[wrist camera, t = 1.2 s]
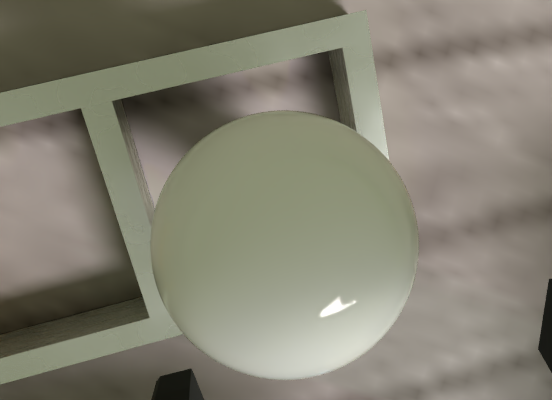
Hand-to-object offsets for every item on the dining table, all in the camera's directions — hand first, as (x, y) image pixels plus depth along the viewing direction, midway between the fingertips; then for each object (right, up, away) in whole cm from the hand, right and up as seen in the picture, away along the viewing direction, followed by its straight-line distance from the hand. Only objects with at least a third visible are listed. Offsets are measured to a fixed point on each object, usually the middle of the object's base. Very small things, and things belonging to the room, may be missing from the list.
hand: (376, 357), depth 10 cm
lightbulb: (-3, +4, +10) cm, 11 cm away
